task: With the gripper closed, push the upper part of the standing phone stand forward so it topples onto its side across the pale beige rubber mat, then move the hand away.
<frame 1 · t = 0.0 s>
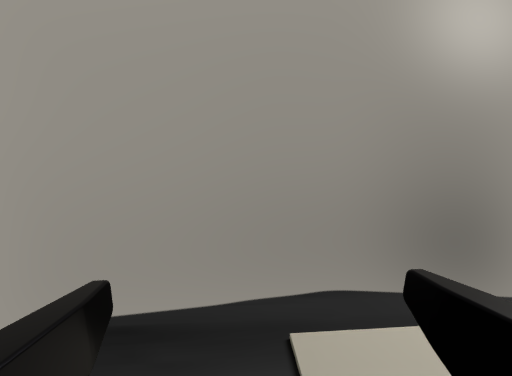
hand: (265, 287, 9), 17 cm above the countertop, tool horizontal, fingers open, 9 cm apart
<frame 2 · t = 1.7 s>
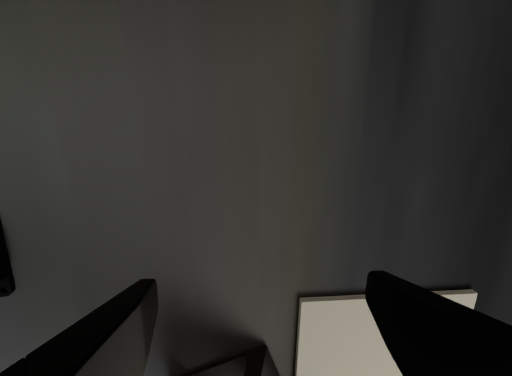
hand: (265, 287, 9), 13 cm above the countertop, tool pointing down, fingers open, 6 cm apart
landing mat: (375, 375, 27), on the countertop
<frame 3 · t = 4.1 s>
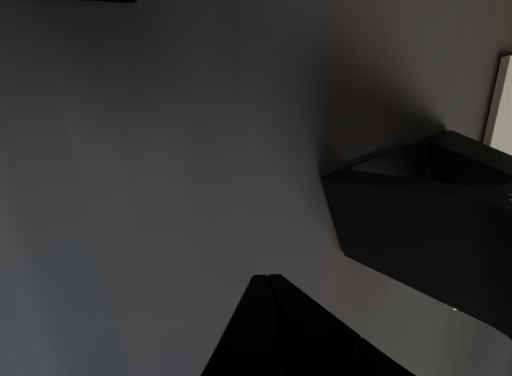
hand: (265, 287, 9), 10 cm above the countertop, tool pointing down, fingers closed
phone stand: (391, 193, 20), on the countertop
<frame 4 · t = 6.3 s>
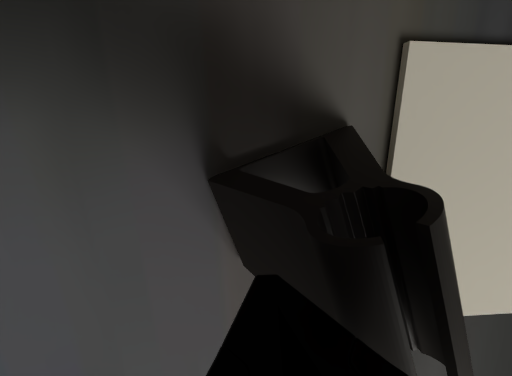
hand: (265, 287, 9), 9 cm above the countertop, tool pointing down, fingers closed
phone stand: (293, 195, 18), on the countertop, touching gripper
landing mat: (495, 195, 19), on the countertop
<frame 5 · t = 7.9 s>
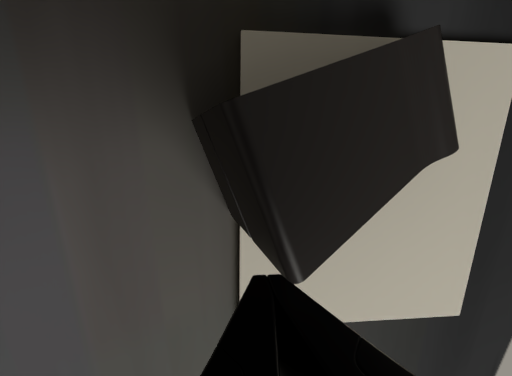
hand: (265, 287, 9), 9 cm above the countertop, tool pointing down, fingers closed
phone stand: (223, 183, 12), point 5 cm above the countertop, touching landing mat
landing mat: (365, 195, 18), on the countertop
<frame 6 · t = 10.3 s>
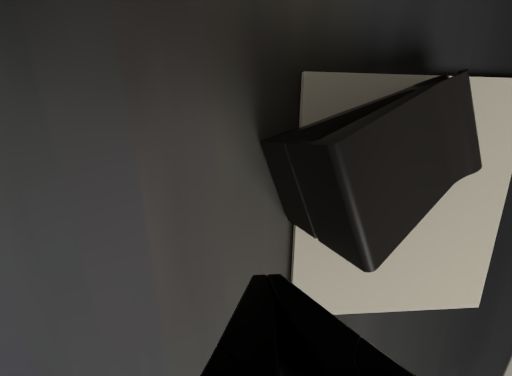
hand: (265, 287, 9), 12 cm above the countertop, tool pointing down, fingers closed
phone stand: (298, 195, 16), point 5 cm above the countertop, touching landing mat
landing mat: (399, 203, 21), on the countertop
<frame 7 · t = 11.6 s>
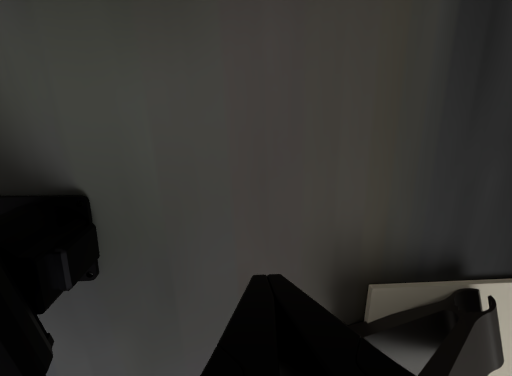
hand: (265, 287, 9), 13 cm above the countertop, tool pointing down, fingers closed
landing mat: (436, 363, 28), on the countertop
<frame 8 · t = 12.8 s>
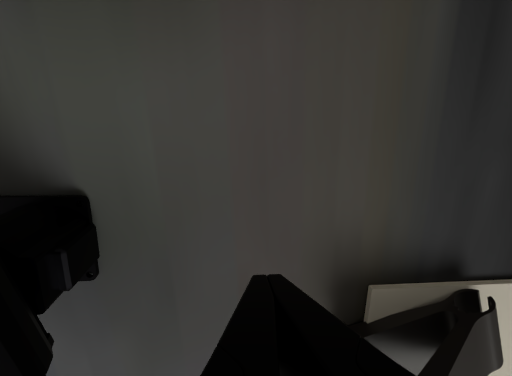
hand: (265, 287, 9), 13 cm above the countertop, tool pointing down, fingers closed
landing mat: (436, 363, 28), on the countertop
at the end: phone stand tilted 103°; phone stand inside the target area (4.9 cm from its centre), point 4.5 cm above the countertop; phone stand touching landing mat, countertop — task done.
